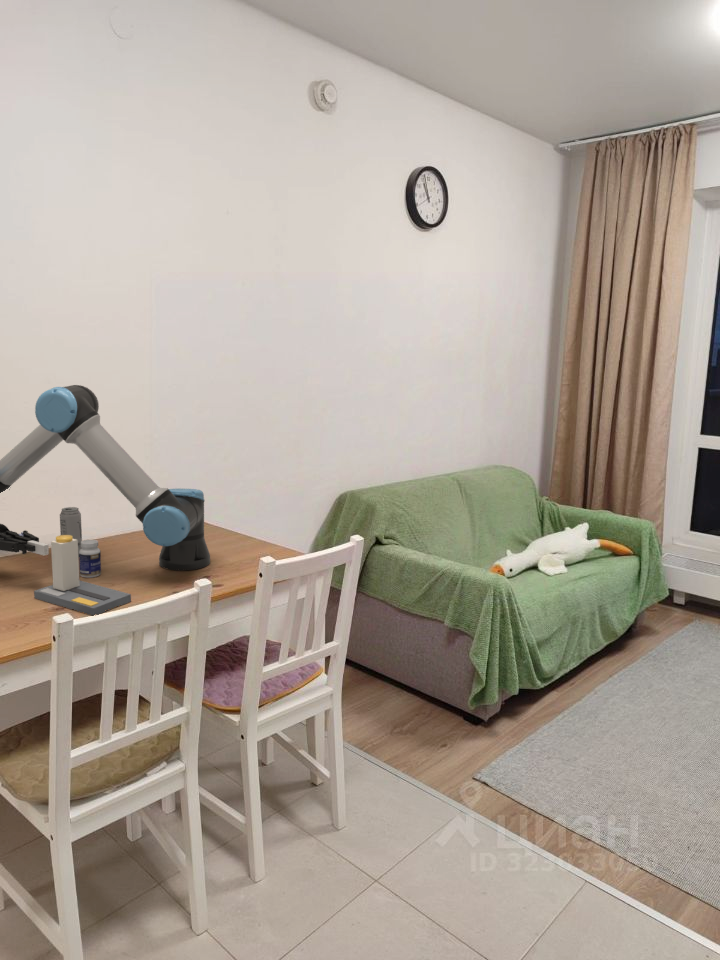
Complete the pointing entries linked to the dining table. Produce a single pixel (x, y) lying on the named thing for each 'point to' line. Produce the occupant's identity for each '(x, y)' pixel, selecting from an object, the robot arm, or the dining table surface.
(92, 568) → the pill bottle
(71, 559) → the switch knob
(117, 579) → the dining table surface
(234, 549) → the dining table surface
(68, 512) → the energy drink can
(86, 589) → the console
